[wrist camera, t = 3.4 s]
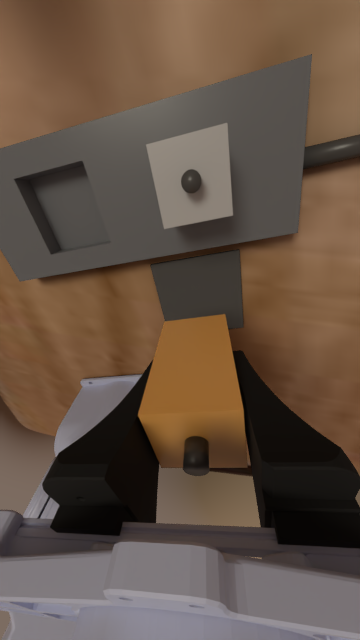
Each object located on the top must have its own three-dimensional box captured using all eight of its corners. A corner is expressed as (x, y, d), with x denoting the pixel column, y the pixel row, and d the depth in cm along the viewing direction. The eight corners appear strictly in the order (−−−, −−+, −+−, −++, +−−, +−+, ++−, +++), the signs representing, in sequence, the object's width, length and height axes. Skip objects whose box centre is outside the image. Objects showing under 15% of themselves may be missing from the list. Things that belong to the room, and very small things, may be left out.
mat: (169, 333, 24) (168, 335, 24) (150, 264, 20) (150, 265, 20) (243, 325, 23) (243, 327, 23) (238, 249, 19) (239, 250, 19)
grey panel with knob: (33, 274, 22) (-30, 306, 16) (-26, 166, 17) (-146, 155, 11) (401, 207, 16) (517, 219, 10) (455, 25, 12) (714, -140, 6)
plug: (176, 366, 16) (157, 492, 10) (164, 321, 14) (130, 440, 8) (229, 361, 16) (251, 494, 9) (225, 314, 14) (248, 437, 7)
